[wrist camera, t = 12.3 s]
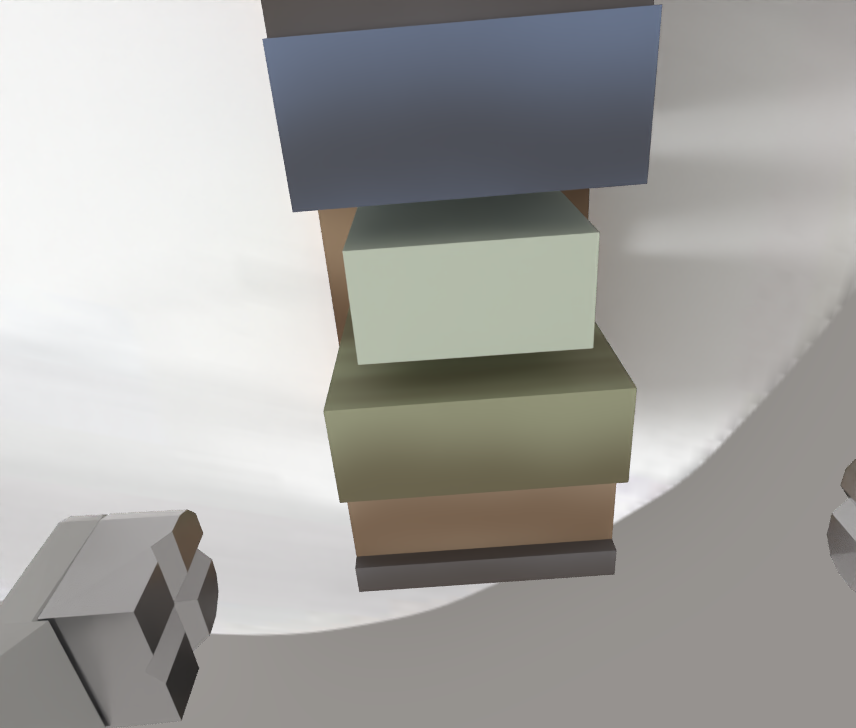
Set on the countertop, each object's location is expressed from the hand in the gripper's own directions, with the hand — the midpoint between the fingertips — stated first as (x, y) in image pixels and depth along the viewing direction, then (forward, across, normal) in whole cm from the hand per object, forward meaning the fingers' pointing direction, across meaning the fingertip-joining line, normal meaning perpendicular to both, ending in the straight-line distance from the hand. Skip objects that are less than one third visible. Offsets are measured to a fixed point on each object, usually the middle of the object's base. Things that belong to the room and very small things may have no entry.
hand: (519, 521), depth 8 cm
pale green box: (+17, 0, +1) cm, 17 cm away
